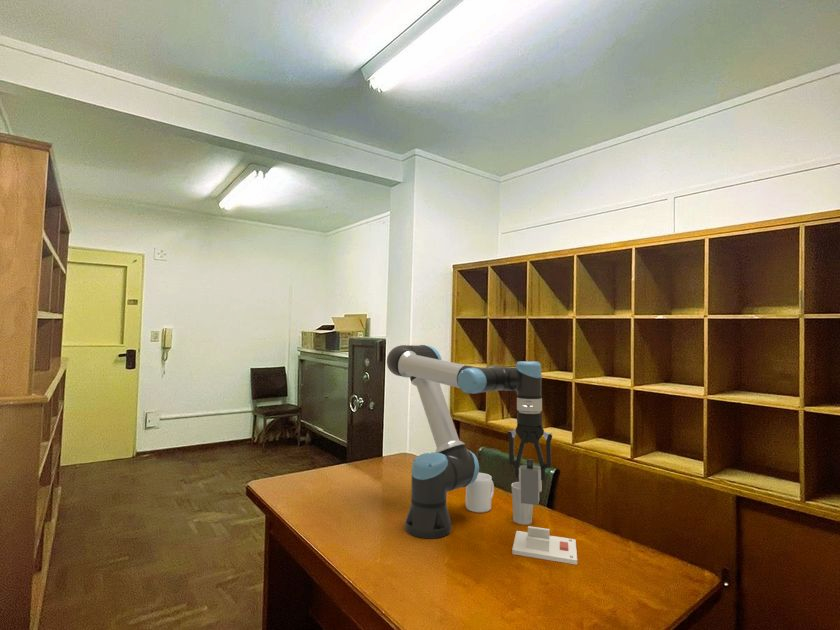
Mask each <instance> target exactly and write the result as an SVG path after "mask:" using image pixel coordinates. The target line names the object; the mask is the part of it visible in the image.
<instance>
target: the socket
mask: <svg viewBox="0 0 840 630" xmlns="http://www.w3.org/2000/svg"><path fill="white" fill-rule="evenodd" d="M511 549H512V551H511V553H512V555H515V556H516V555H517V556H523V557H528V558H534V559H541V560H546V561H552V562H560V563H564V564H571V565H577V566H578V551H577V542H576V538H575V539H574V538H567V537H562V536H555V535H550V528H543V527H538V526H532V525H528V526H527V531H521V530H516V532H515V536H514V541H513V545H512V548H511Z"/></svg>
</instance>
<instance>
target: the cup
mask: <svg viewBox="0 0 840 630" xmlns="http://www.w3.org/2000/svg"><path fill="white" fill-rule="evenodd" d="M510 487H511V495H512V496H511V497H512V498H511V499H512V515H513V516H512V519H513V520H512V521H513V522H514V523H516V524H519V525H531V524H532V523H533V510H534V505H532V504H524V503H521V490H519V481H515V482H512V483H511V486H510Z"/></svg>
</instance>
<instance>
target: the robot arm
mask: <svg viewBox="0 0 840 630" xmlns="http://www.w3.org/2000/svg"><path fill="white" fill-rule="evenodd" d="M386 365H387V369H388V370H389V371H390V372H391V373H392V375H395V376H397V377H403V378H407V379H409V380H410V382H411V384H412V385H414V387H415V386H416V389H417V392H418V395H419V397H420V401H421V403H422V407H423V410H424V414H425V416H426V419H427V422H428V425H429V427H430V431H431V435H432V437H433V441H434V443H435V447H436V450H435V452H426V453H425V452H424V453H422V454H419V455H417V456H416V457H415V458H414V459H413V461H412V468H411V472H410V473H411V498H410V500H411V501H410V506H409V510H408V513H407V516H406V518H405V524H404V525H405V527H404V528H405V532H406V533H408V534H409V535H411V536H413V537H416V538H421V539H439V538H442V537H446V536H447V535H449V534H450V533H451V531H452V519H451V517H450V513H449V510H448V507H447V492H448V493H449V492H451V491H454V490H457V489H460V488H466V486H468V485H469V484H471V483H473V482H474V481H475V480H476V478H477V475H478V473H480V463H479V460H478V458H477V455H476V454H475V453H474V452H472V451H471V450H469V449H468V448H467V446H466V443H465V442H464V441H461V440H460V439H459V435H458V433H457V429H456V427H455V423H454V422H453V419H452V415H451V412H450V410H449V406H448V404H447V402H446V398H445V395H444V392H443V389H442V386H441V384H442V385H446V386H449V387H454V388H458V389H460V390H461V391H462V392H463V393H466V394H475V395H476V394H481V393H489V392H498V391H511V392H516V410H517V411H518V412H516V427H515V429H513V430H508V431H507V437H508V441H509V442H508V443H509V445H508V463H509V464H510V465H512V466H514V467H515V468H514V469H515V470H514V471H515V478H516V479H517V478H518V482H519V490H521V467H522V465H520V464H521V460H522V457H523V455H524V454H523V453H524V449H525V446H526V444H529V443H530V444H533V446H534V448H535V453H536V456H537V459H538V462H539V463H538V464H539V468H538V492H539V493H542V486H543V483H542V481H545V479H546V469H549V468H551V467H552V445H551V443H552V439H553V433H551V432H550V433H549V432H547V431H545V430H544V427H543V414H542V411H543V397H542V385H543V384H542V383H543V382H542V380H543V379H542V377H543V374H542V365H541V363H540V362H539V361H528V360H527V361H517V362H516V366H515V367H509V366H499V365H497V366H496V365H493V366H488V367H477V366H472V365H467V364H462V363H459V362H458V363H457V362H453V361H448V360H442V356H441V354H440V353H439V351H438V350H437V349H436V348H435V347H433V346H430V345H425V344H418V345H417V344H416V345H414V344H413V345H412V344H411V345H410V344H407V345H406V344H405V345H404V344H403V345H402V344H400V345H398V346H395V347H393V348H392V349H391V350H390V351H389V353H388V355H387V357H386ZM516 435H517V436H518V437H519V439H520V443H519V447H518V452H517V456H516V459H515V437H516ZM542 437H544V440H545V441H546V442H545V447H546V448H545V449H546V450H545V452H546V462H545V459H544V456H543V452H542V449H541V445H540V440H541V438H542Z"/></svg>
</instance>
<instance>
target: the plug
mask: <svg viewBox="0 0 840 630" xmlns="http://www.w3.org/2000/svg"><path fill="white" fill-rule="evenodd" d="M521 466H522V467H521V503H524V504H532V505H533V506H539V503H540V492H538V468H539V467H540V465H539V466H538V465H534V459H532V458H527V459H526V465H525V464H522V465H521Z"/></svg>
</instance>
